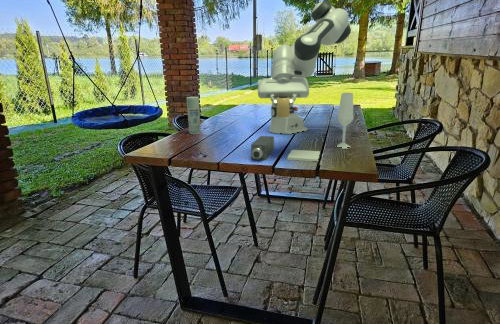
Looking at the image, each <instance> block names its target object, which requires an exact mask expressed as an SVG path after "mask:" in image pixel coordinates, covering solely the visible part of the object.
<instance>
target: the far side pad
mask: <svg viewBox="0 0 500 324" xmlns="http://www.w3.org/2000/svg"><path fill="white" fill-rule="evenodd" d="M319 155H320V156H321V151H319V150H301V149H291V150H290V153H288V155H287V159H286V160H287V161H297V160H298V162H312V161H317V162H316V163H318V162H319V160H318V159H320V156H319Z"/></svg>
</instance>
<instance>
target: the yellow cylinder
mask: <svg viewBox="0 0 500 324" xmlns="http://www.w3.org/2000/svg"><path fill="white" fill-rule="evenodd" d="M289 112H290V98H289V97H287V95H281V96H279V98H277V117H289Z"/></svg>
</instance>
